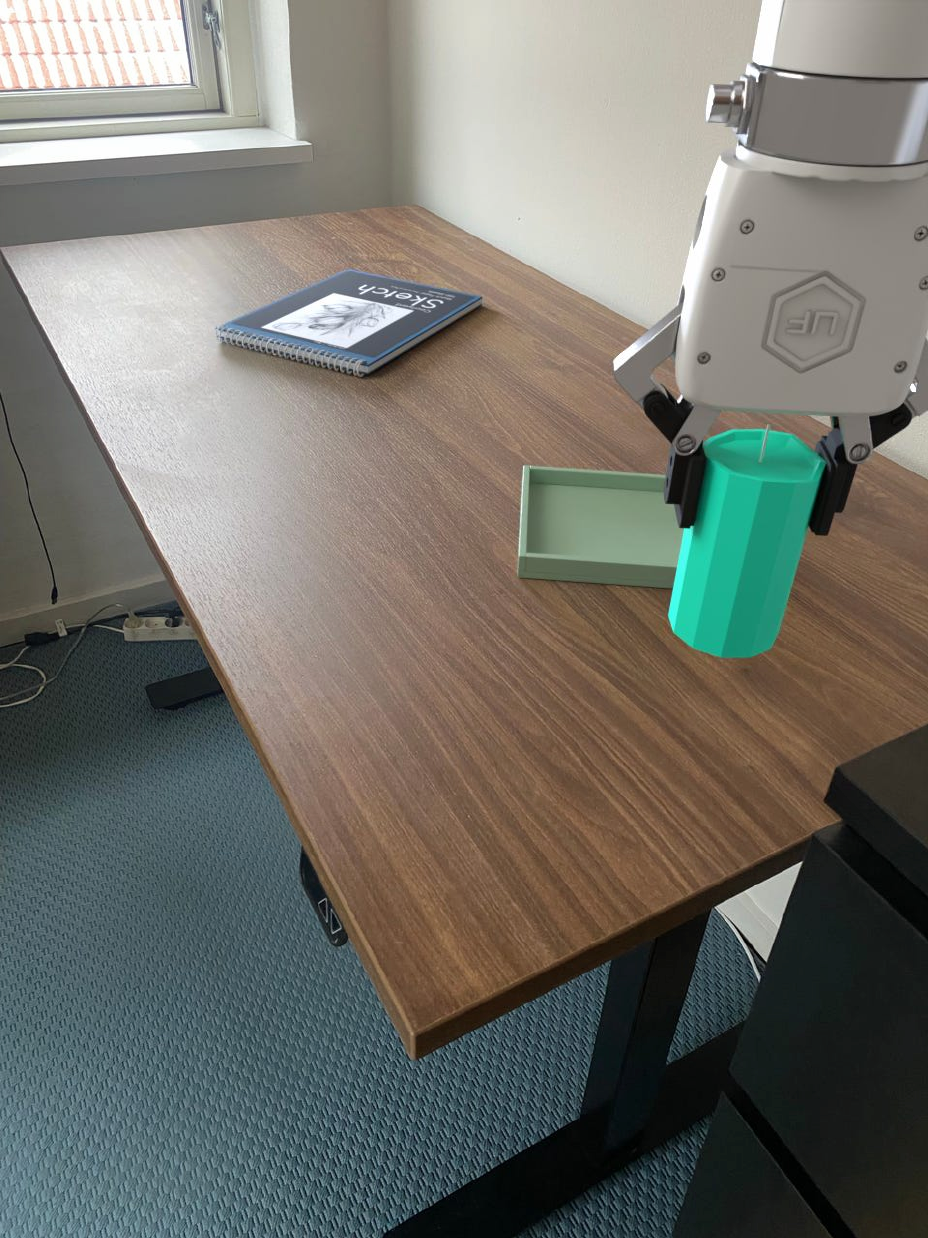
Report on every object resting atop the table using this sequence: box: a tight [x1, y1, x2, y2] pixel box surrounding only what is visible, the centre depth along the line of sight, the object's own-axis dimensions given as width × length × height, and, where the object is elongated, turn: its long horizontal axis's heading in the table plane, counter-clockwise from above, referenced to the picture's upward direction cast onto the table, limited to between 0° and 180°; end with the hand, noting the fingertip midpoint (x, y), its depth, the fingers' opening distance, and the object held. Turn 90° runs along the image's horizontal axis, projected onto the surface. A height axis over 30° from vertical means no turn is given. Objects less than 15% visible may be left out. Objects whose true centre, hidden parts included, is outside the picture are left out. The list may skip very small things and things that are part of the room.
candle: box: [667, 423, 826, 659], centre depth 48 cm, size 6×6×12 cm
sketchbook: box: [215, 268, 483, 378], centre depth 118 cm, size 22×30×2 cm
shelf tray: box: [516, 465, 684, 590], centre depth 79 cm, size 17×15×2 cm
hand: (748, 515), depth 47 cm, fingers closed on candle, 5 cm apart
